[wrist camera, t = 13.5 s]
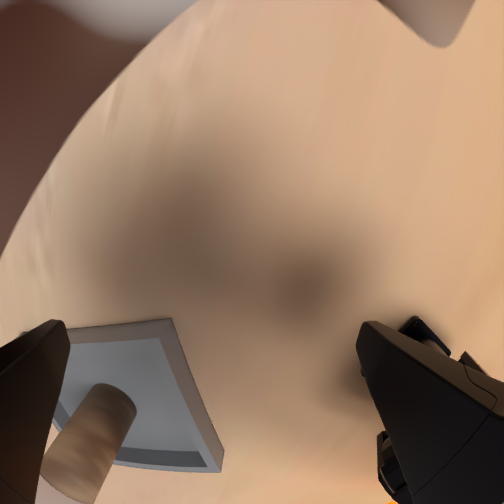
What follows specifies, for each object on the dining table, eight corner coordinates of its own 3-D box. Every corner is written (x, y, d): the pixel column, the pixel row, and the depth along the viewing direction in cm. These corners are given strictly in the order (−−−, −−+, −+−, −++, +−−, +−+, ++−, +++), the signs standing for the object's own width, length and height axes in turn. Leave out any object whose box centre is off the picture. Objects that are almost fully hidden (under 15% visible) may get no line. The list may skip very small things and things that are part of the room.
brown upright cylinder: (146, 416, 24) (106, 507, 13) (113, 424, 25) (71, 501, 14) (114, 378, 23) (56, 466, 12) (82, 388, 24) (27, 463, 13)
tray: (171, 318, 22) (158, 337, 19) (224, 450, 26) (220, 472, 23) (23, 331, 23) (7, 344, 21) (87, 441, 27) (78, 457, 24)
